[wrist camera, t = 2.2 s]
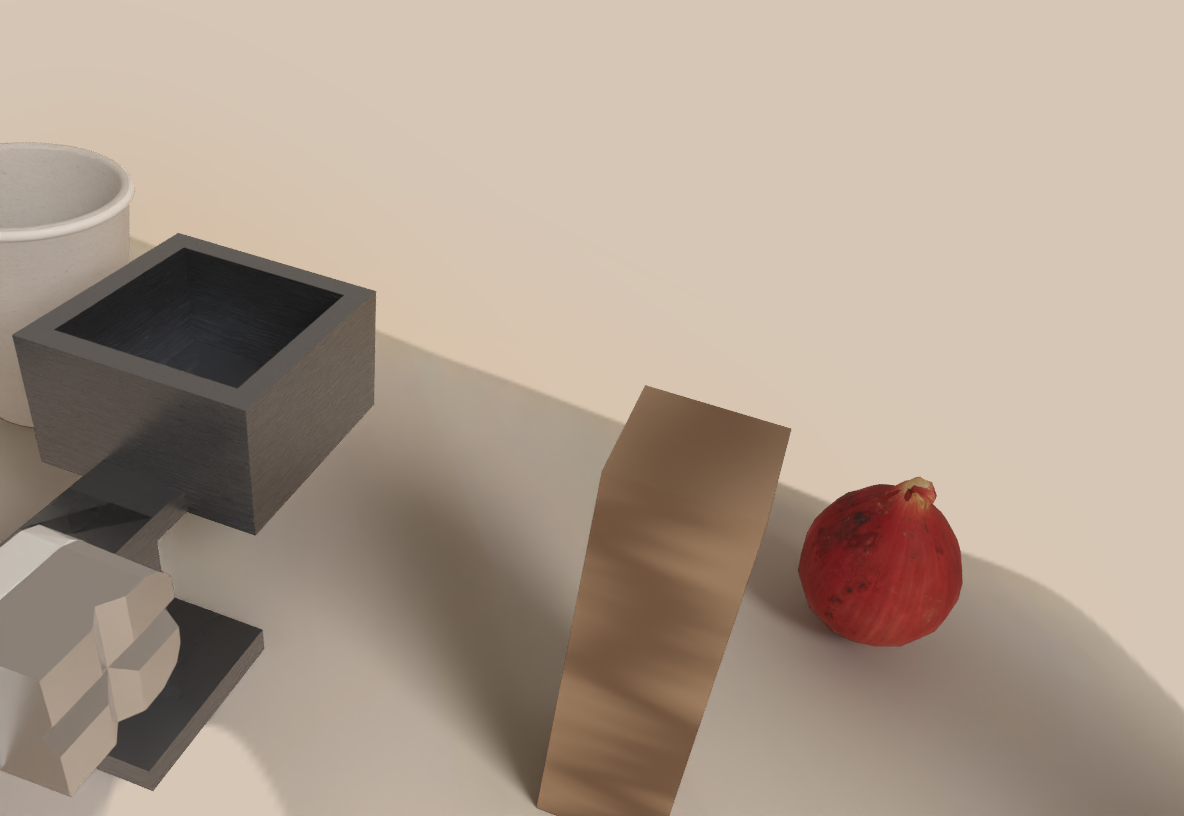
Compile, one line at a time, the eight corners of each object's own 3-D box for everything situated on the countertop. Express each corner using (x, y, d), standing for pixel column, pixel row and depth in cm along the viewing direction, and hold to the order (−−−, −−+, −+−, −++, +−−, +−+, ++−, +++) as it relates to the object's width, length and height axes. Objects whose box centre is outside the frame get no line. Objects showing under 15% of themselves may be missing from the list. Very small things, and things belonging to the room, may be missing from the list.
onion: (801, 692, 37) (866, 535, 32) (762, 578, 41) (815, 426, 37) (945, 692, 38) (1029, 540, 33) (892, 580, 42) (959, 433, 38)
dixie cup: (-9, 473, 40) (-71, 251, 34) (-74, 371, 44) (-138, 159, 39) (193, 407, 45) (169, 204, 39) (116, 322, 49) (85, 128, 44)
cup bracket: (371, 510, 41) (375, 291, 35) (152, 790, 30) (102, 541, 24) (203, 453, 43) (178, 233, 36) (-67, 702, 31) (-168, 444, 25)
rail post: (685, 750, 34) (791, 429, 26) (656, 853, 31) (767, 523, 23) (575, 710, 35) (645, 385, 27) (536, 807, 31) (601, 471, 23)
